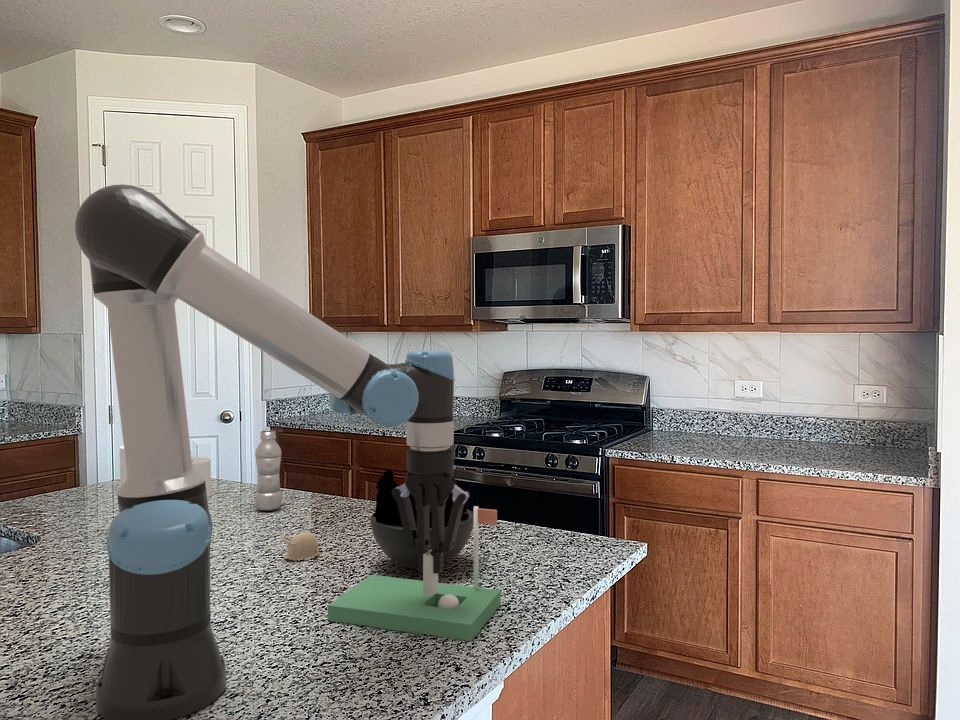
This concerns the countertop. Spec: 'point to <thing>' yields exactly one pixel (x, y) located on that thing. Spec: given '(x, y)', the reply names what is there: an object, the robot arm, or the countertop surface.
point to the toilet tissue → (203, 470)
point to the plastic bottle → (268, 472)
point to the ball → (448, 602)
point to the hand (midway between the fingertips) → (430, 591)
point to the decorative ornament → (301, 546)
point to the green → (420, 601)
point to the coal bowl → (390, 525)
